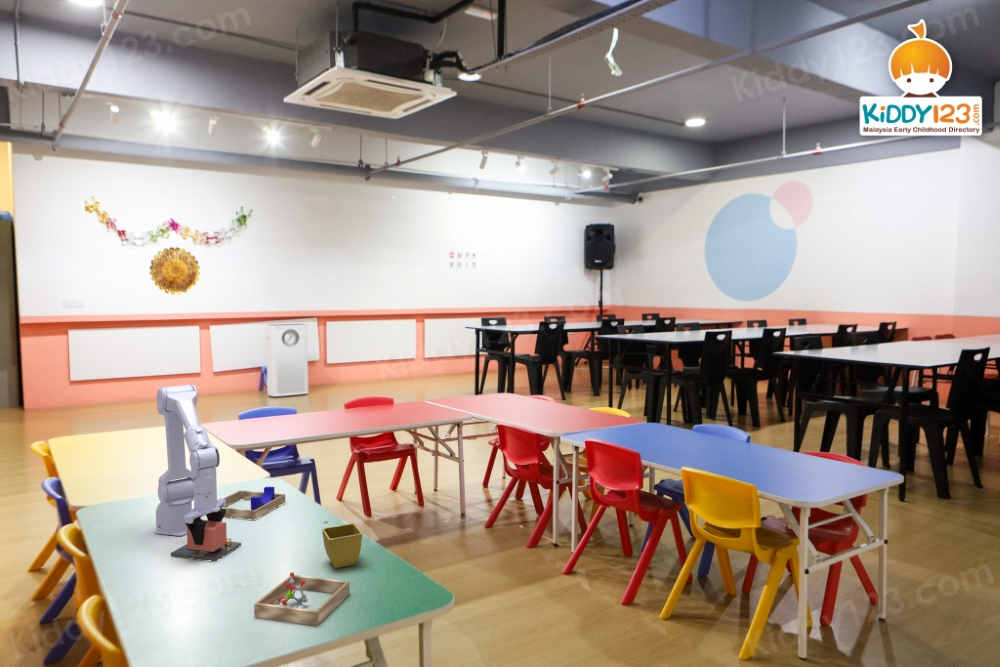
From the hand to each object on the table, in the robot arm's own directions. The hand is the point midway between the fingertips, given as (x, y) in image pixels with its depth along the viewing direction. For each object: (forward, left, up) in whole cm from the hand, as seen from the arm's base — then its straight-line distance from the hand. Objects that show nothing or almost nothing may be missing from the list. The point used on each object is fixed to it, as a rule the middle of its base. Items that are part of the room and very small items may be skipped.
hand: (206, 540), depth 180 cm
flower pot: (+39, +3, -4) cm, 39 cm away
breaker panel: (-1, +1, -4) cm, 4 cm away
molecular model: (+39, -23, -4) cm, 45 cm away
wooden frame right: (+41, -20, -4) cm, 46 cm away
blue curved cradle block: (-6, +35, -4) cm, 36 cm away
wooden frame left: (-11, +34, -4) cm, 36 cm away
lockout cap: (0, 0, -2) cm, 2 cm away
